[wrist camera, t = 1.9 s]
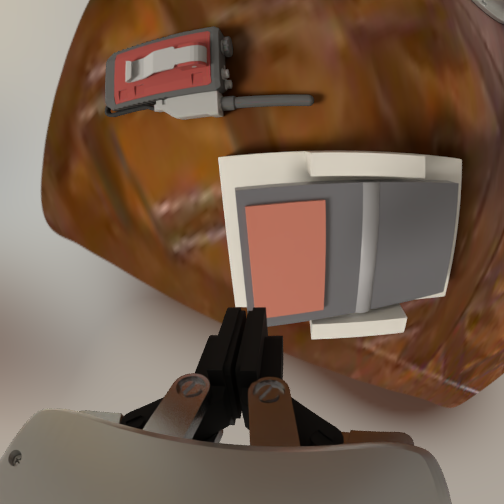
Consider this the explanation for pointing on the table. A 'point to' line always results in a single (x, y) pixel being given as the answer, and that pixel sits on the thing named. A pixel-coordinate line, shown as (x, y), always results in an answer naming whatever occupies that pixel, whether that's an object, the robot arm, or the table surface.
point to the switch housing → (326, 169)
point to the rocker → (343, 244)
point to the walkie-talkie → (180, 78)
